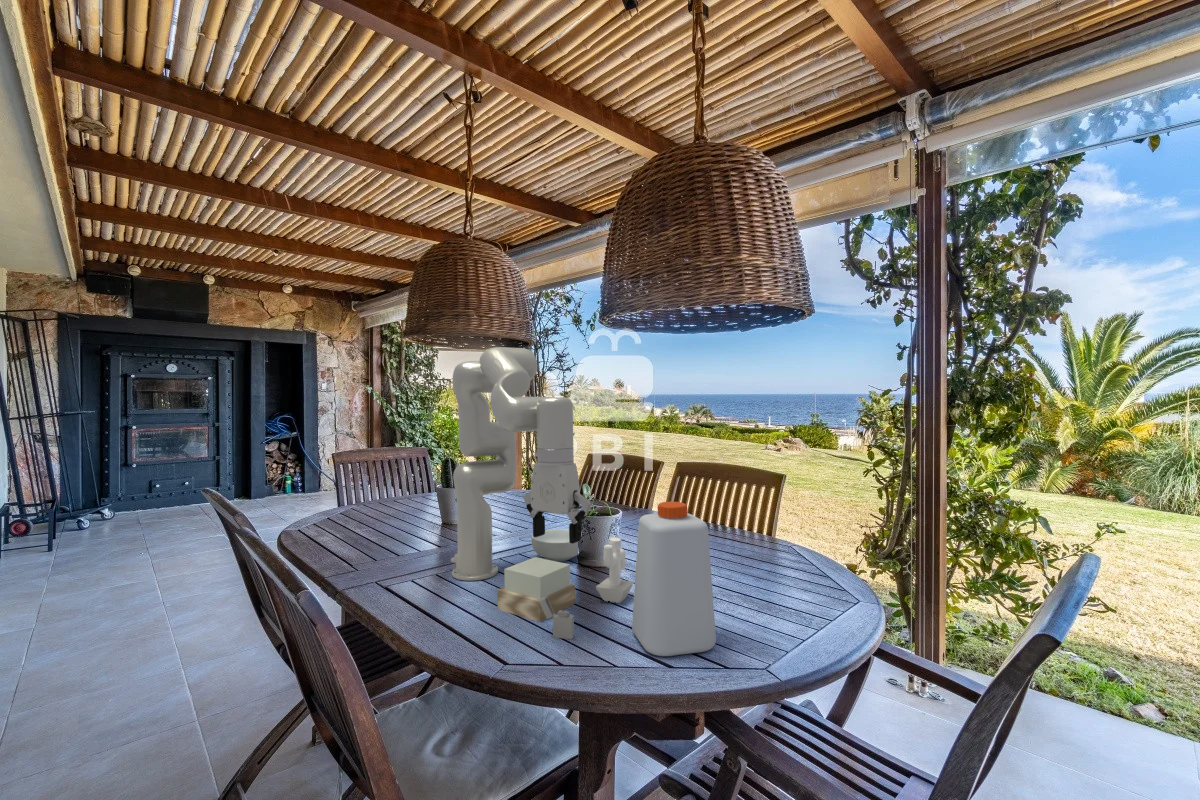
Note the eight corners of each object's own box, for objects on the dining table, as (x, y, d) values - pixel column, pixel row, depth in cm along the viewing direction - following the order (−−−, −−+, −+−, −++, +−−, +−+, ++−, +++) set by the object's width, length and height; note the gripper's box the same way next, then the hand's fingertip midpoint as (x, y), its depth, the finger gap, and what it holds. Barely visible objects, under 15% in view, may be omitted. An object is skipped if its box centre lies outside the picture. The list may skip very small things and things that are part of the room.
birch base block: (497, 611, 130) (497, 590, 130) (534, 594, 141) (534, 574, 141) (539, 623, 123) (539, 601, 123) (575, 605, 134) (575, 584, 133)
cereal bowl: (578, 567, 161) (578, 543, 160) (524, 564, 164) (523, 540, 164) (591, 551, 177) (591, 529, 177) (541, 548, 180) (541, 527, 180)
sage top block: (504, 590, 130) (504, 568, 130) (535, 576, 139) (535, 557, 139) (540, 599, 124) (540, 577, 124) (570, 585, 133) (570, 564, 133)
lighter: (574, 635, 116) (573, 597, 116) (572, 639, 114) (571, 600, 114) (541, 632, 117) (541, 595, 117) (539, 636, 116) (538, 598, 115)
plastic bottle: (649, 661, 105) (649, 514, 104) (627, 628, 119) (626, 499, 119) (723, 652, 108) (723, 509, 108) (692, 621, 123) (692, 495, 122)
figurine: (635, 594, 139) (635, 535, 139) (621, 608, 130) (621, 544, 130) (609, 590, 142) (608, 532, 142) (593, 603, 133) (593, 541, 133)
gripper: (512, 456, 117) (513, 537, 117) (578, 460, 107) (579, 549, 107) (536, 453, 123) (537, 530, 123) (600, 457, 113) (601, 540, 113)
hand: (556, 538), depth 115 cm, fingers open, 9 cm apart
